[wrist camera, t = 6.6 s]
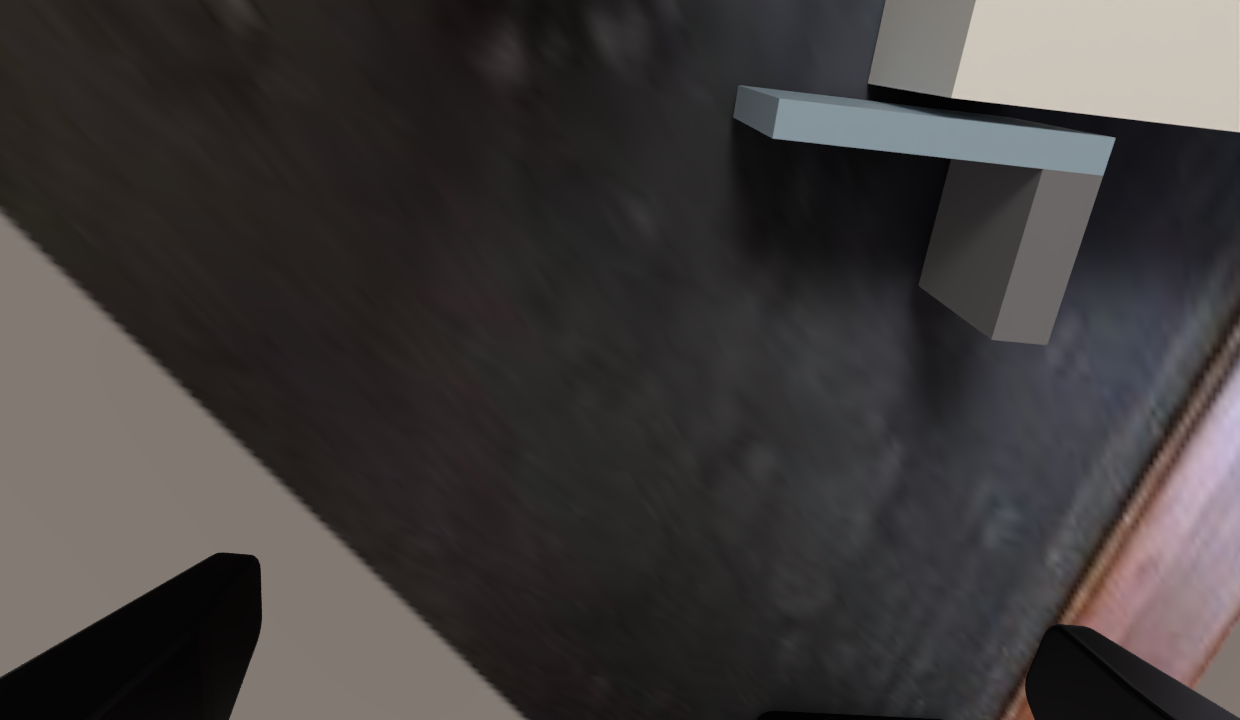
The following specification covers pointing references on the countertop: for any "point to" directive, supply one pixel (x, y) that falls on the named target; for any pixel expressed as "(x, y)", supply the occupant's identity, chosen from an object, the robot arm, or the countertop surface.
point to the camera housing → (1070, 56)
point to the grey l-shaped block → (970, 197)
